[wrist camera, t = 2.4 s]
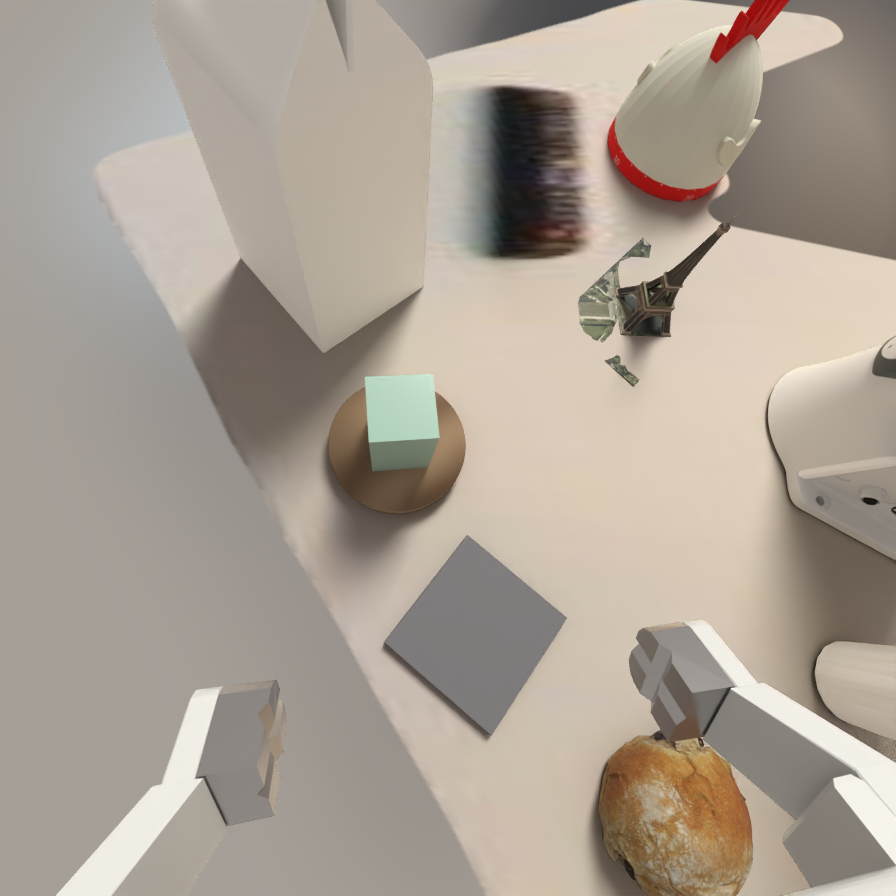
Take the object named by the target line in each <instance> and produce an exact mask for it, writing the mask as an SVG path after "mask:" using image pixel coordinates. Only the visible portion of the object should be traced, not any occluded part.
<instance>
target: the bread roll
mask: <svg viewBox="0 0 896 896" xmlns="http://www.w3.org/2000/svg"><path fill="white" fill-rule="evenodd" d="M703 746H704V743H703V740H702V739H701V738H694V739H687V740H681V741H674V742H667V740H666V738H665V736H664V735H663V733H662V731H661V730H660V731H657V732H656V733H654V734H653V735H651V736H638V737H636V738H634V739H633V740H632V741H630V742H629V743H627V742H626V743H625V744H624V746H622V747H621V748H620V749H619V750H618V751H617V752H616V753H615V754H614V755H613V756H612V757H611V758H610V759H609V761H608V766H607V768H606V771H605V773H604V775H603V777H602V778H603V782H602V789H601V793H600V800H599V814H600V818H601V822H602V826H603V831H604V836H603V837H602V838H603V842H604V844H605V847H606V850H607V852H608V854H609V855H610V857H611V858H612V859H613V860H614V861H615V862H616V861H617V859H618V858H619V859H620V860H621V862H622V863H623V865H624V866H625V868H626V871H627V872H628V873H629V874H630V876H631V878H632V879H634V880H636V881H637V883H638V885H639V886H640V888H641V890H642V891H643V892H644V893H645V894H646V895H647V896H736V895H737V894H738V892H739V891H740V889H741V887H742V886H743V884H744V883H745V881H746V878H747V876H748V874H749V872H750V869H751V865H752V860H753V857H752V855H753V843H752V827H751V820H750V816H749V812H748V809H747V806H746V803H745V800H746V799H745V798H744V797H743V796H742V794H741V793H740V791H739V789H738V787H737V785H736V783H735V779H734V778H733V776H732V772H731V766H730V764H729V762H727V761H725V760H724V759H722V758H721V757H719V756H718V755H717V754H716V753H715V752H714V751H713V750H712V749H711V747H703Z"/></svg>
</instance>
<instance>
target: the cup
mask: <svg viewBox="0 0 896 896" xmlns="http://www.w3.org/2000/svg"><path fill="white" fill-rule="evenodd" d="M815 677H816V683H817V689H818V691H819V693H820V695H821V697H822V699H823V701H824V703H825V705H826V706H827V707H828V708H829V709H830V710H831V711H832V713H833V714H834V715H835V716H836V717H838V718H840V719H841V720H843V721H845V722H847V723H849V724H852V725H855V726H857V727H860V728H863V729H865V730H868V731H871V732H873V733H876V734H879V735H881V736H884V737H887V738H889V739H892V740H895V741H896V646H890V645H879V644H868V643H857V642H847V641H835V642H833V643H831V644H829V645H827V646H825V647H824V648H823V650H822V651H821V653H820V654H819V656H818V658H817V662H816V668H815Z"/></svg>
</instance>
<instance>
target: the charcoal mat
mask: <svg viewBox="0 0 896 896" xmlns="http://www.w3.org/2000/svg"><path fill="white" fill-rule="evenodd" d="M566 619H567V618H566V617H565V616H564V615H563V614H562V613H560V612H559V611H558V610H557V609H556V608H554V607H553V606H552V605H551V604H550V603H548V602H547V601H546V600H545V599H544V598H542V597H541V596H540V595H539V594H538V593H536V592H535V591H534V590H533V589H532V588H530V587H529V586H528V585H527V584H526V583H524V582H523V581H522V580H521V579H520V578H518V577H517V576H516V575H515V574H514V573H512V572H511V571H510V570H509V569H508V568H506V567H505V566H504V565H503V564H502V563H500V562H499V561H498V560H497V559H496V558H494V557H493V556H492V555H491V554H490V553H488V552H487V551H486V550H485V549H484V548H482V547H481V546H480V545H479V544H478V543H476V542H475V541H474V540H473V539H472V538H470V537H469V536H468V535H467V536H466V537H465V539H464V540H463V541H462V542H461V544H460V545H459V546H458V548H457V549H456V550H455V551H454V553H453V554H452V555H451V557H450V558H449V559H448V560H447V562H446V563H445V564H444V566H443V567H442V568H441V569H440V571H439V572H438V573H437V575H436V576H435V577H434V578H433V580H432V581H431V582H430V584H429V585H428V586H427V587H426V589H425V590H424V591H423V593H422V594H421V595H420V596H419V598H418V599H417V600H416V602H415V603H414V604H413V605H412V607H411V608H410V609H409V611H408V612H407V613H406V614H405V616H404V617H403V618H402V620H401V621H400V622H399V623H398V625H397V626H396V627H395V629H394V630H393V631H392V632H391V634H390V635H389V636H388V638H387V639H386V640H385V643H386V644H387V645H388V646H389V647H390V648H391V649H393V650H394V651H395V652H396V653H397V654H398V655H400V656H401V657H402V658H403V659H404V660H405V661H406V662H408V663H409V664H410V665H411V666H412V667H413V668H414V669H416V670H417V671H418V672H419V673H420V674H421V675H422V676H424V677H425V678H426V679H427V680H428V681H429V682H431V683H432V684H433V685H434V686H435V687H436V688H437V689H439V690H440V691H441V692H442V693H443V694H444V695H445V696H447V697H448V698H449V699H450V700H451V701H452V702H453V703H455V704H456V705H457V706H458V707H459V708H460V709H462V710H463V711H464V712H465V713H466V714H467V715H468V716H470V717H471V718H472V719H473V720H474V721H475V722H476V723H478V724H479V725H480V726H481V727H482V728H483V729H484V730H486V731H487V732H488V733H489V734H490V735H492V733H493V732H494V730H495V728H496V727H497V725H498V724H499V722H500V721H501V719H502V718H503V716H504V715H505V713H506V711H507V710H508V708H509V707H510V705H511V704H512V702H513V701H514V699H515V698H516V696H517V694H518V693H519V691H520V690H521V688H522V687H523V685H524V684H525V682H526V681H527V679H528V677H529V676H530V674H531V673H532V671H533V670H534V668H535V667H536V665H537V663H538V662H539V660H540V659H541V657H542V656H543V654H544V653H545V651H546V650H547V648H548V646H549V645H550V643H551V642H552V640H553V639H554V637H555V636H556V634H557V633H558V631H559V629H560V628H561V626H562V625H563V623H564V622H565V620H566Z"/></svg>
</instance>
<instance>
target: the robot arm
mask: <svg viewBox="0 0 896 896" xmlns="http://www.w3.org/2000/svg"><path fill="white" fill-rule="evenodd" d="M768 423H769V429H770V434H771V437H772V440H773V443H774V446H775V448H776V450H777V452H778V455H779V457H780V459H781V461H782V463H783V465H784V467H785V470H786V477H787V485H788V491H789V495H790V498H791V500H792V502H793V503H794V504H795V505H796V506H797V507H798V508H800V509H802V510H803V511H805V512H807V513H809V514H811V515H813V516H814V517H816V518H818V519H820V520H822V521H824V522H825V523H827V524H829V525H831V526H833V527H835V528H837V529H838V530H840V531H842V532H844V533H846V534H848V535H849V536H851V537H853V538H855V539H857V540H859V541H860V542H862V543H864V544H866V545H868V546H870V547H872V548H873V549H875V550H877V551H879V552H881V553H883V554H884V555H886V556H888V557H890V558H892V559H894V560H895V561H896V336H895V337H893V338H891V339H889V340H888V341H887V342H885V343H884V344H881V345H879V346H876V347H873V348H870V349H867V350H864V351H861V352H858V353H856V354H853V355H849V356H846V357H843V358H839V359H836V360H832V361H828V362H824V363H820V364H814V365H808V366H803V367H799V368H796V369H794V370H792V371H790V372H788V373H787V374H786V375H784V376H783V377H782V378H781V379H780V380H779V382H778V383H777V384H776V386H775V388H774V390H773V392H772V394H771V397H770V401H769V407H768ZM816 501H817V502H816ZM636 639H637V641H638V642H639V645H637V646H636V647H635V648H634V649H633V650H632V651H631V654H630V658H629V666H630V673H631V676H632V678H633V681H634V683H635V685H636V687H637V689H638V691H639V692H640V693H641V694H642V695H643V696H645V697H646V698H647V699H649V700H650V701H651V714H652V715H653V717H654V719H655V721H656V722H657V724H658V726H659V728H660V729H661V731H662V733H663V735H664V736H665V738H666V740H667V742H674V741H681V740H687V739H694V738H700V737H704V738H703V740H704V741H705V742H706V743H708V744H709V745H710V746H711V747H712V748H713V749H715V750H716V751H717V752H718V753H719V754H720V755H721V756H723V757H724V758H725V759H726V760H727V761H728V762H730V763H731V764H732V765H733V766H734V767H735V768H736V769H738V770H739V771H740V772H741V773H742V774H743V775H745V776H746V777H747V778H748V779H749V780H750V781H751V782H753V783H754V784H755V785H756V786H757V787H758V788H760V789H761V790H762V791H763V792H764V793H765V794H767V795H768V796H769V797H770V798H771V799H772V800H773V801H775V802H776V803H777V804H778V805H779V806H780V807H782V808H783V809H784V810H785V811H786V812H787V813H788V814H790V815H791V816H792V817H793V818H794V819H795V820H796V821H795V822H794V823H793V824H792V825H791V827H790V828H789V829H788V830H787V831H786V832H785V833H784V835H783V844H784V846H785V847H786V849H787V850H788V852H789V854H790V855H791V857H792V858H793V860H794V861H795V863H796V864H797V866H798V867H799V869H800V871H801V872H802V874H803V875H804V877H805V878H806V880H807V881H808V883H809V884H810V886H811V888H808V889H804V890H801V891H797V892H793V893H789V894H785V895H781V896H896V763H895V762H893V761H892V760H890V759H888V758H887V757H885V756H884V755H882V754H880V753H879V752H877V751H875V750H874V749H872V748H870V747H869V746H867V745H865V744H864V743H862V742H861V741H859V740H857V739H856V738H854V737H852V736H851V735H849V734H847V733H846V732H844V731H842V730H841V729H839V728H838V727H836V726H834V725H833V724H831V723H829V722H828V721H826V720H824V719H823V718H821V717H819V716H818V715H816V714H815V713H813V712H811V711H810V710H808V709H806V708H805V707H803V706H801V705H800V704H798V703H796V702H795V701H793V700H792V699H790V698H788V697H787V696H785V695H783V694H782V693H780V692H778V691H777V690H775V689H773V688H772V687H770V686H768V685H767V684H765V683H757V682H756V680H755V679H754V678H753V677H752V676H751V674H750V673H749V672H748V671H747V670H746V668H745V667H744V666H743V665H742V663H741V662H740V661H739V660H738V659H737V657H736V656H735V655H734V654H733V653H732V651H731V650H730V649H729V648H728V647H727V645H726V644H725V643H724V642H723V640H722V639H721V638H720V637H719V636H718V634H717V633H716V632H715V631H714V630H713V628H712V627H711V626H710V625H709V624H708V623H706V622H705V621H703V620H694V621H688V622H681V623H680V622H677V623H671V624H665V625H658V626H652V627H646V628H642V629H641V630H639V631H638V634H637V637H636ZM279 691H280V688H279V686H278V682H277V680H270V681H262V682H255V683H247V684H239V685H232V686H222V687H214V688H207V689H200V690H196V691H195V692H194V694H193V696H192V697H191V699H190V701H189V704H188V706H187V709H186V712H185V715H184V718H183V721H182V724H181V727H180V730H179V733H178V736H177V739H176V742H175V745H174V748H173V751H172V754H171V756H170V759H169V762H168V765H167V768H166V771H165V774H164V777H163V780H162V783H161V785H157V786H152V787H151V788H150V789H149V790H148V792H147V793H146V794H145V795H144V796H143V797H142V798H141V799H140V801H139V802H138V803H137V804H136V805H135V806H134V807H133V809H132V810H131V811H130V812H129V813H128V814H127V815H126V817H125V818H124V819H123V820H122V821H121V822H120V823H119V825H118V826H117V827H116V828H115V829H114V830H113V831H112V833H111V834H110V835H109V836H108V837H107V838H106V839H105V840H104V842H103V843H102V844H101V845H100V846H99V847H98V849H97V850H96V851H95V852H94V853H93V854H92V855H91V856H90V857H89V859H88V860H87V861H86V862H85V863H84V864H83V865H82V867H81V868H80V869H79V870H78V871H77V872H76V873H75V875H74V876H73V877H72V878H71V879H70V880H69V882H68V883H67V884H66V885H65V886H64V887H63V888H62V889H61V890H60V892H59V893H58V894H57V895H56V896H187V894H188V893H189V891H190V889H191V888H192V886H193V885H194V883H195V881H196V880H197V878H198V876H199V875H200V873H201V872H202V870H203V868H204V867H205V865H206V864H207V862H208V860H209V859H210V857H211V855H212V854H213V852H214V851H215V849H216V847H217V846H218V844H219V843H220V841H221V839H222V838H223V836H224V834H225V833H226V831H227V827H226V826H230V825H235V824H239V823H244V822H249V821H253V820H258V819H263V818H267V817H272V816H275V809H276V801H277V794H278V788H279V781H280V774H279V771H278V768H277V764H276V761H277V760H278V759H279V757H280V756H281V754H282V753H283V751H284V744H285V735H286V732H285V731H286V715H285V707H284V703H283V702H282V701H280V700H279V699H278V698H279Z"/></svg>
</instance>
